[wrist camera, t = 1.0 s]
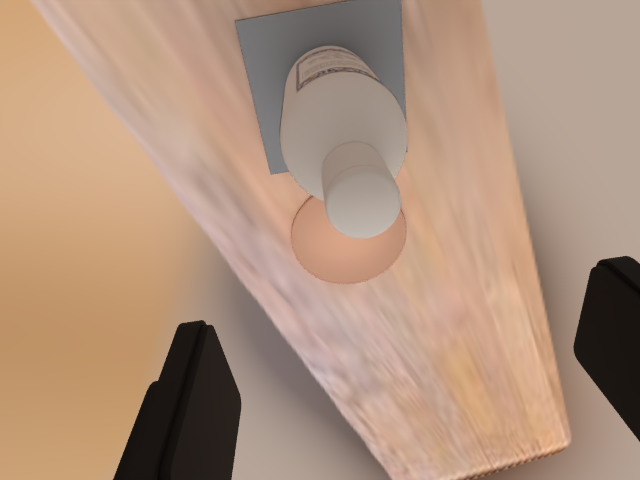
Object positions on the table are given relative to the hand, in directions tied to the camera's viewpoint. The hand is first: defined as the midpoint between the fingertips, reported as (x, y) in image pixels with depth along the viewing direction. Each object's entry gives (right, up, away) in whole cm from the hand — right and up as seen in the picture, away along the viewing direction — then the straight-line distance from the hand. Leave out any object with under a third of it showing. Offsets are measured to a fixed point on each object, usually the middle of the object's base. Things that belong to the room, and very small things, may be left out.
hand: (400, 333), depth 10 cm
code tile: (-1, +14, +22) cm, 27 cm away
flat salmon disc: (+1, +3, +29) cm, 30 cm away
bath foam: (-1, +14, +22) cm, 27 cm away
